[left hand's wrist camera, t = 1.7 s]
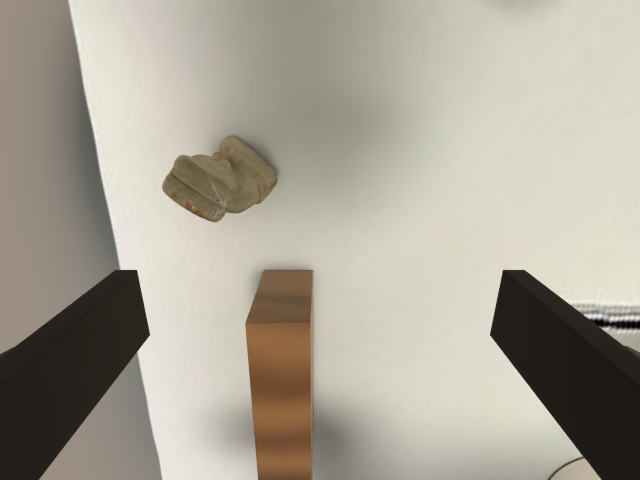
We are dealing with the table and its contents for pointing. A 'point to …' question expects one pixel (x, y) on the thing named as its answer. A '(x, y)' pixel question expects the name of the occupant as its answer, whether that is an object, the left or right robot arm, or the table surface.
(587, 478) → the right robot arm
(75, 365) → the left robot arm
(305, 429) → the box
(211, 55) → the table surface
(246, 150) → the sculpture
